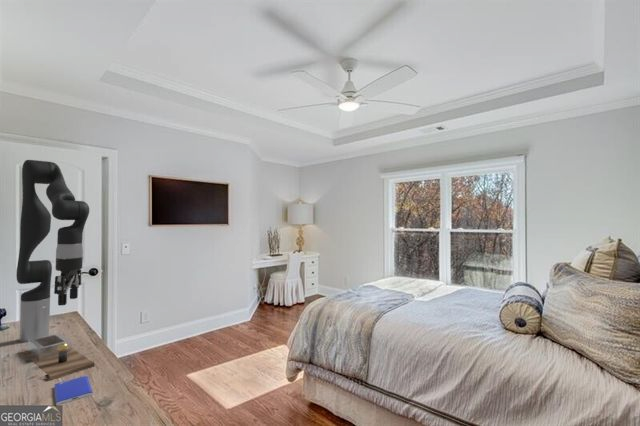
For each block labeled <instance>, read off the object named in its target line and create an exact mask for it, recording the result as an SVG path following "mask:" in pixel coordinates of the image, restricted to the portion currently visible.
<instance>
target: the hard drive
mask: <svg viewBox="0 0 640 426" xmlns="http://www.w3.org/2000/svg"><path fill="white" fill-rule="evenodd" d="M93 393H94V392H93V389H92V385H91V382H90V379H89V376H88V375H83V376H80V377H76V378H72V379H69V380H64V381H60V382H56V383H54V395H55V397H54V398H55V404H56V406H58V405H61V404H66V403H68V402H72V401H75V400H78V399H81V398H86V397H89V396H92V395H93Z"/></svg>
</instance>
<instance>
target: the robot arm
mask: <svg viewBox="0 0 640 426" xmlns="http://www.w3.org/2000/svg"><path fill="white" fill-rule="evenodd" d="M21 170H22V171H21V181H22V183H21V184H22V185H21V186H22V204H21V213H20V224H19V226H20V227H19V229H20V230H19V235H20V236H19V250H18V260H17V265H16V267H17V268H16V276H15V277H16V281H17V283H18V284H20V285H26V284H27V285H28V284H37V283H39V285H37V286H36V287H33V288H32V289H29V290H26V291H24V292H23V293H21V295H20V310H19V311H20V315H19V342H22V343H24V342H25V343H28V340H31V339H35V338H39V337H44V336H48V335H50V315H51V314H50V313H51V309H50V308H51V283H52V275H53V274H52V273H53V272H52V271H53V264H52V262H51V261H50V260H48V259H42V260H41V259H40V260H30V258H31V255H32V254H33V252H34V251H35V250H36V248H37V247H38V246H39V245H40V244H41V243H42V242H43V241H44V240H45V239H46V237H47V236H49V233H50V231H51V223H52V216H53V217H54V218H55V219H56V220H60V221H73V223H72V224H71V225H68V226H61V227H59V228H58V230H57V239H56V242H57V244H56V248H55V249H56V250H55V271H58V272H59V271H60V275H56V276H55V277H54V289H53V290H54V291H53V293H54V295H57V306H60V307H61V306H66V305H67V301H68V296H67V295H68V294H67V293H68V291H69V299H70V300H75V299H78V298H79V297H78V296H79V295H78V294H79V292H78V291H79V288H80V286H81V285H82V269H83V263H84V262H83V260H84V259H83V258H84V256H83V254H84V249H83V232H84V229H85V226H86V223H87V219H88V217H89V214H90V206H89V205H88V203H87V202H86V201H83V200H76V198H75V195H74V194H73V193H72V191H71V190H70V189H69V187H68V185H67V184H66V183H67V182H66V180H65V178H64V176H63V173H62V169H61V168H60V166H59V165H58V164H57V163H55V162H54V161H53V162H52V161H47V160H46V161H45V160H36V159H34V160H33V159H26V160H24V162H23V164H22V169H21ZM36 184H37V185H38V184H39V185H41V184H42V185H48V186H47V187H46V190H45V194H46V197H47V199H48V200H49V202H50V203H51V212H50V211H49V210H48V208H47V207H46V206H45V204H44V203H43V202H42V200H41V199H40V197H39V196H38V194H37V192H36V186H35V185H36ZM51 215H52V216H51Z"/></svg>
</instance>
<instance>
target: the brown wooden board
mask: <svg viewBox="0 0 640 426" xmlns="http://www.w3.org/2000/svg"><path fill="white" fill-rule="evenodd" d="M22 354H24V355H25V356H26V357H27V358H28V359H30V361H32V363H34V364H35V365H36V366H37V367H38V368H40V369H41V370H42V371H43V372H44V373H45V377H46V378H47V379H48V380H49V381H53V380H55V379H58V378H62V377H65V376H69V375H71V374H74V373H77V372H78V373H79V372H81V371H84V370H86V369H91V368H93V367H95V362H94V361H92V360H91V359H89V358H88V357H86V356H85V355H83V354H82V353H80V352H79V351H77V350H75V349H74V348H72V347H71V352H68V353H67V361H66V362H63V363H58V355H57V356H54V357H50V358H47V359H43V360H38V359H37V358H36V357H35V356H33V355H32V354H31V353H30V352H29V351H28V349H27V350H25V351H22Z"/></svg>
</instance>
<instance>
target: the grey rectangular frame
mask: <svg viewBox="0 0 640 426" xmlns="http://www.w3.org/2000/svg"><path fill="white" fill-rule="evenodd" d="M61 343H67V344H68V345H69V348H68V350H67V353H68V352H71V348H72V347H71V346H72V345H71V344H72V341H71V340H70V339H69V338H67V337H65V336H63V335H62V334H60V333H53V334H49V335H48V336H44V337H39V338H35V339H31V340H28V342H27V350H28V351H29V352H30V353H31V354H32V355H33V356H35V357H36V358H37V359H38V360H43V359H47V358H50V357H54V356H57V355H59V352H58V350H57V347H58V346H59V345H60V344H61Z"/></svg>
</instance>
